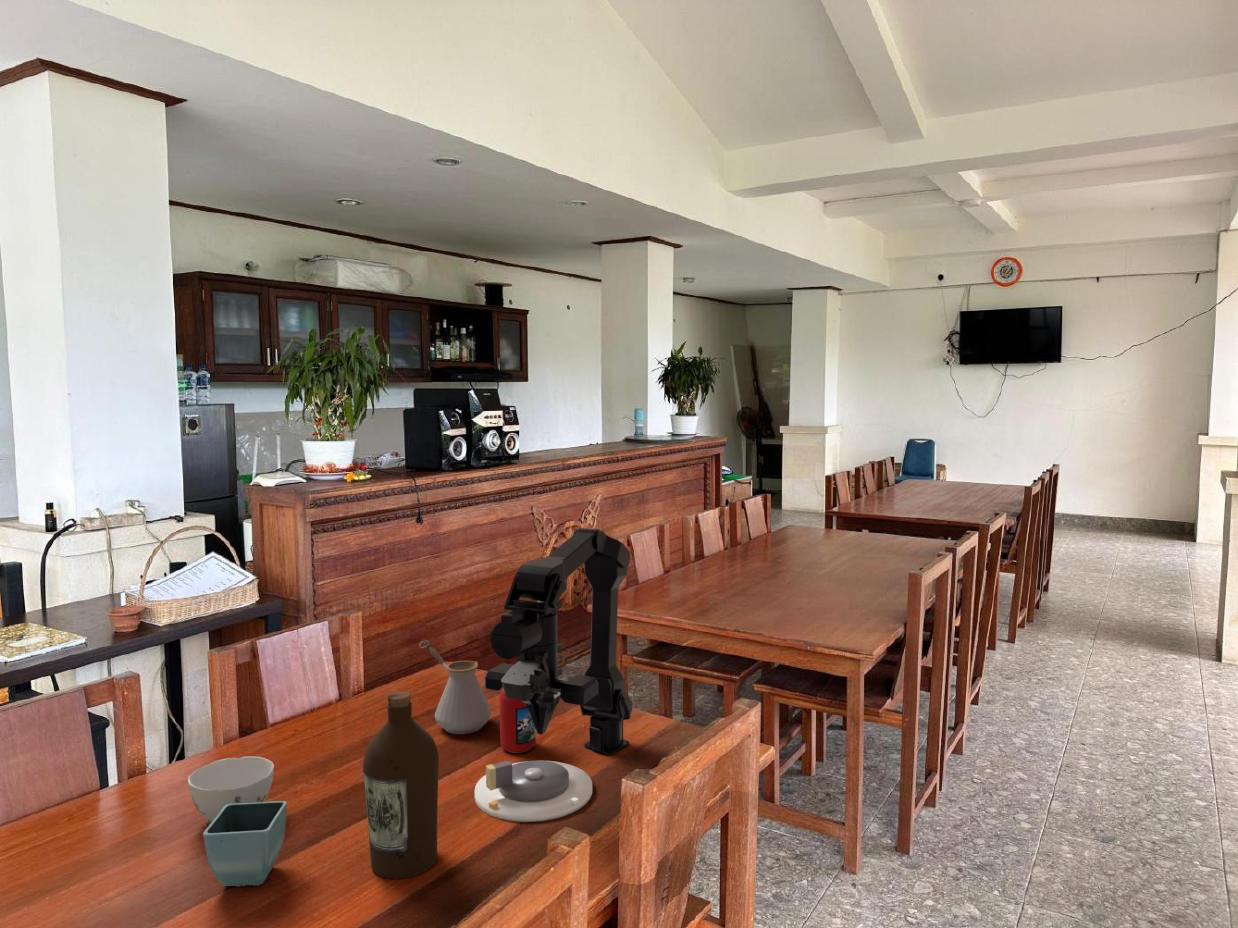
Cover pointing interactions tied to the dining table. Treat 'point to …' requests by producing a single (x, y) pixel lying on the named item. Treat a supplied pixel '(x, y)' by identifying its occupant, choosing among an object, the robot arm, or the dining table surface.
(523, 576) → the robot arm
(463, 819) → the dining table surface
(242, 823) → the flower pot
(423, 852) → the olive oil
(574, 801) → the plate
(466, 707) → the coffee pot
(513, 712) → the beverage can
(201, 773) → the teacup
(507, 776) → the dial
